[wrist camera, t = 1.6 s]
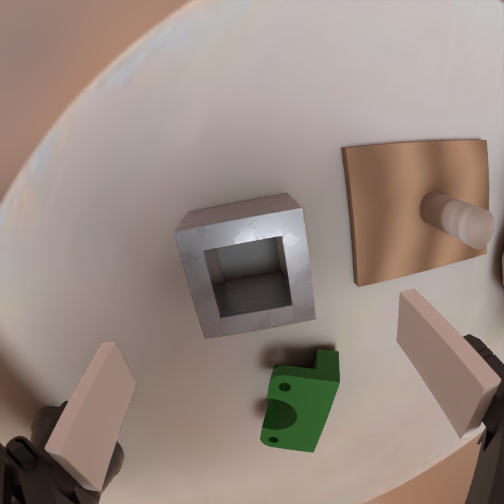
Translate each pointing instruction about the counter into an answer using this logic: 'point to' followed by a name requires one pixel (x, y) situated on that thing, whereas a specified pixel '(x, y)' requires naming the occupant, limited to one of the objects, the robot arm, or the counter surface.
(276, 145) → the counter surface
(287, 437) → the clamp
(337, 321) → the counter surface
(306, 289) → the collar
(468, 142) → the post board
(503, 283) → the ceramic vessel
